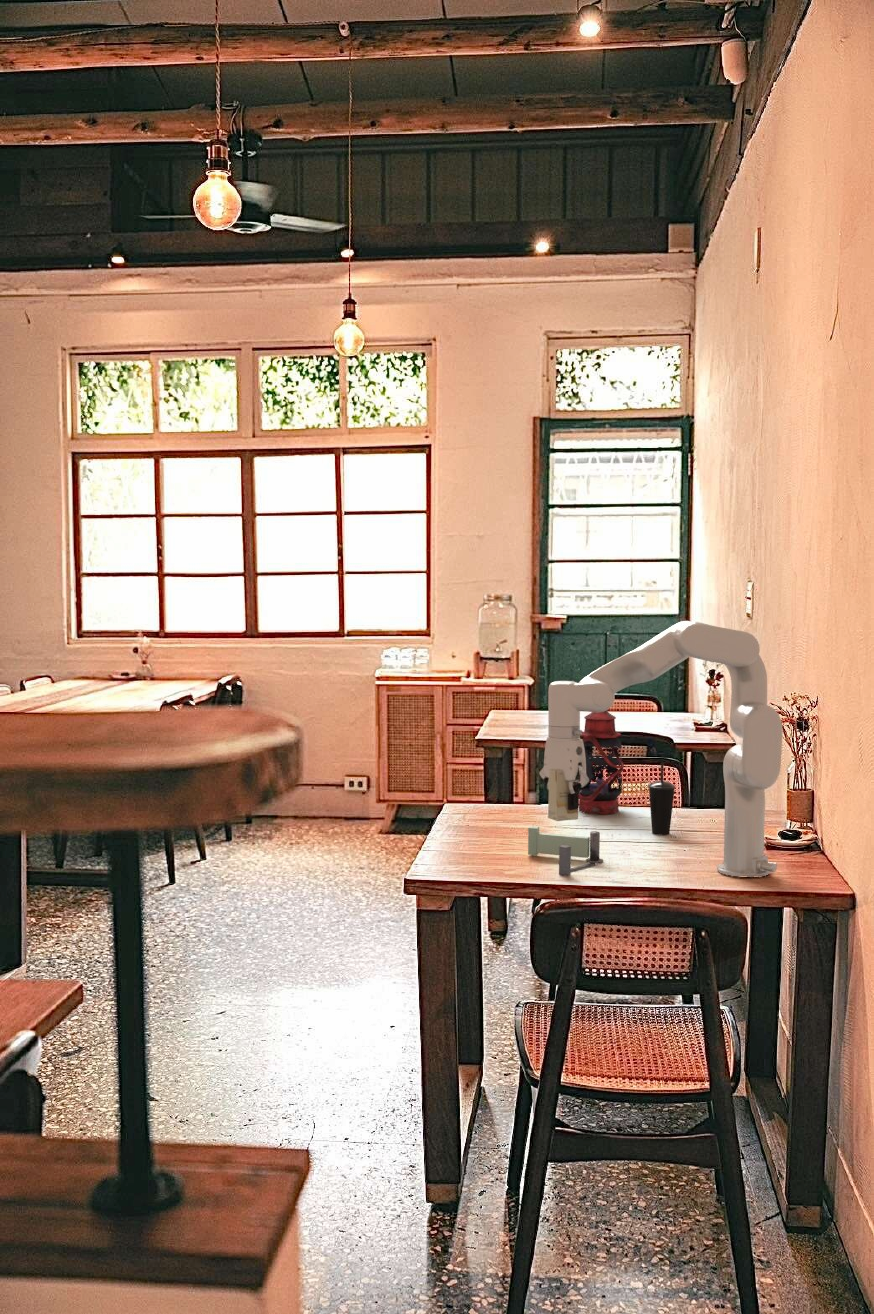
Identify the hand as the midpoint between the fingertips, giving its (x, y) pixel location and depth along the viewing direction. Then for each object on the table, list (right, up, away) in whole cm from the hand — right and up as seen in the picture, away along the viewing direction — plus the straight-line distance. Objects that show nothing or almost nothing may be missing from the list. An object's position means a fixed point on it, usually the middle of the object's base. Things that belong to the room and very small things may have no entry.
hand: (563, 806), depth 292 cm
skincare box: (0, -3, 0) cm, 3 cm away
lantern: (+19, -12, +82) cm, 85 cm away
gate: (+1, -15, +20) cm, 25 cm away
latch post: (+5, -17, +7) cm, 19 cm away
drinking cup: (+33, -14, +50) cm, 61 cm away
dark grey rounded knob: (+10, -16, +17) cm, 25 cm away
